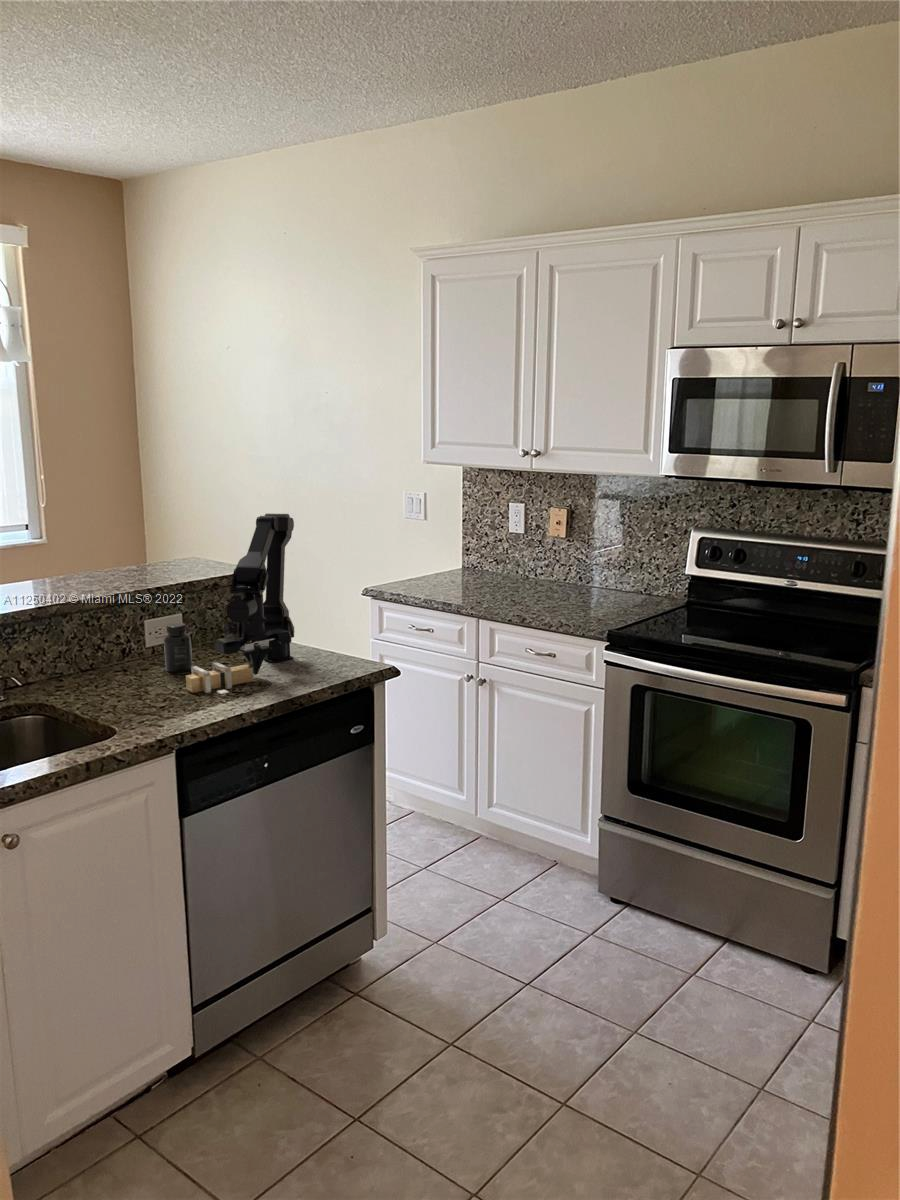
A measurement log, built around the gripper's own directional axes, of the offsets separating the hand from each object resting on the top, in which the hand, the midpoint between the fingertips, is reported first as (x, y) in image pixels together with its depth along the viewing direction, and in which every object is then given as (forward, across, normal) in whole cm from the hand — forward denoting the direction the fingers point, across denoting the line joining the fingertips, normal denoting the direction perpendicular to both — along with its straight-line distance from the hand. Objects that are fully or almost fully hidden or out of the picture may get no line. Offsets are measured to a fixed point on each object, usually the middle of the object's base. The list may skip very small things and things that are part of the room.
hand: (255, 674), depth 242 cm
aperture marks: (+1, +12, 0) cm, 12 cm away
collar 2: (+1, +9, 0) cm, 9 cm away
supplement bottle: (+1, +11, -20) cm, 23 cm away
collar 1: (+1, +14, 0) cm, 15 cm away
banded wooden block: (+1, +10, 0) cm, 10 cm away
